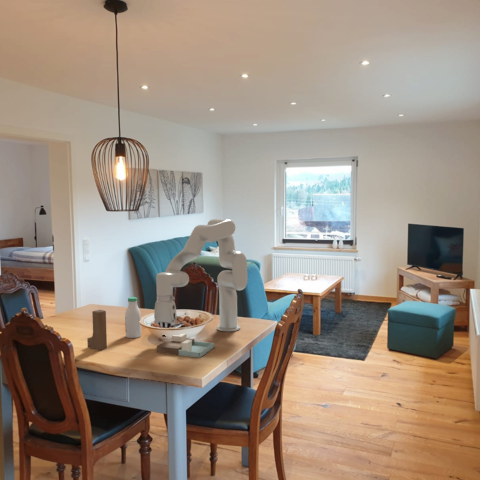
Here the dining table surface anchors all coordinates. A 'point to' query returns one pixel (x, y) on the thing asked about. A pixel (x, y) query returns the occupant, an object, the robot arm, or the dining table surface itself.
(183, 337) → the tile
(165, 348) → the walnut board
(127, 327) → the milk bottle
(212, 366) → the dining table surface
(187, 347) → the tile
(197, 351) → the tray
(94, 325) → the wooden block
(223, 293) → the robot arm
